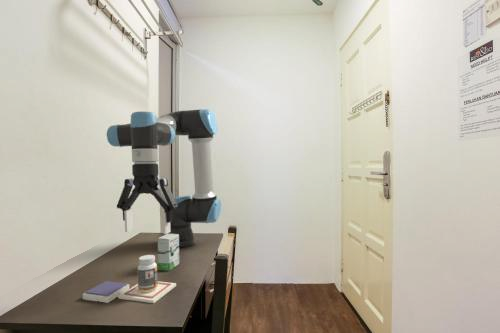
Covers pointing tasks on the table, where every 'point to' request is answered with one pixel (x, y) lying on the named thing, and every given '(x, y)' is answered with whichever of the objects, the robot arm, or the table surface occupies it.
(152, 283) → the pill bottle
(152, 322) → the table surface
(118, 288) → the ink pad
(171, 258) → the ink box
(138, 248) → the table surface
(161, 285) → the print card
